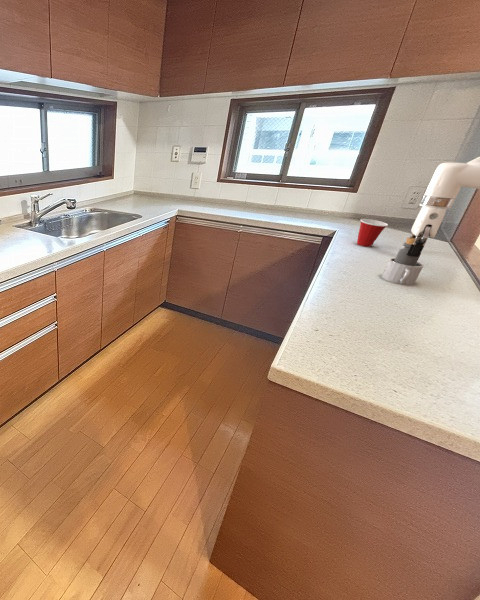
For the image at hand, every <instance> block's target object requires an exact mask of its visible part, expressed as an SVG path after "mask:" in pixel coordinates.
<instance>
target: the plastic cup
mask: <svg viewBox="0 0 480 600" xmlns="http://www.w3.org/2000/svg"><path fill="white" fill-rule="evenodd" d="M388 226H389V224H388V223H386V222H384V221H380V220H376V219H369V218H360V225H359V229H358V235H357V239H356V244H357V245H358V246H361V247H365V248H367V247H368V248H370V247H372V246H373V245H374V243H375V242H376V240H377V239H378V238H379V236H380V235H381V233H382V232H383V231H384V229H385V228H387V227H388Z"/></svg>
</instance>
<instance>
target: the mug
mask: <svg viewBox="0 0 480 600" xmlns="http://www.w3.org/2000/svg"><path fill="white" fill-rule="evenodd" d="M395 258H396V257H392V258H389V259H388V262H387V263H386V266H385V268H384V270H383V273H382V274H381V278H382V280H383V279H384V280H385V281H388V282H390V283H394V284H397V285H398V284H400V285H405V286H406V285H407V286H411V285H412V286H413V285H414V284H415V283H416V281H417V279H418V278H419V275H420V274H421V271H422V270H423V268H424V264H423V263H421V262H418V261H417V263H416V265H415V266H408V265H403V264H399V263H396V262H394V260H395Z"/></svg>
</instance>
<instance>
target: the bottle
mask: <svg viewBox="0 0 480 600" xmlns="http://www.w3.org/2000/svg"><path fill="white" fill-rule="evenodd" d="M414 240H415V238H410V237H406V241H405V242H404V243H403V244H402V246H403V248H400V249H399V250H398V252H397V254H396V256H395V257H394V258H395V260H394V262H396V263H399V264H403V265H408V266H415V265H416V263H417V262H418V261H419V259H420V257H421V255H422V252H421V253H420V255H419V257H414V256H408V255H407V252H408V250H409V248H410V246H411V244H413V243H414ZM417 241H418V240H417Z"/></svg>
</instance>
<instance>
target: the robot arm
mask: <svg viewBox="0 0 480 600" xmlns="http://www.w3.org/2000/svg"><path fill="white" fill-rule="evenodd" d="M461 188H470V189H474V190H480V156H479V157H476V158H474V159H472V160H470V161H467V162H451V161H450V162H447V161H446V162H441V163H439V165H438V166H437V167H436V169H435V171H434V173H433V175H432V177H431V179H430V182H429V184H428V186H427V188H426V189H425V192H424V194H423V196H422V198H421V200H420V202H419V204H418V206H420V207H421V208H420V210H419V212H418V214H417V216H416V218H415V220H414V222H413V224H412V226H411V229H410V232H411V235H410V236H409V238H415V240H414V243H413V244H411V246H410V248H409V250H408V252H407V255H408V256H414V257H419V255H420V253H421V254H422V252H423V250H424V248H425V245H426V243H427V241H428V239H434V238H435V237H436V235H437V233H438V231H439V229H440V226H441V224H442V222H443V220H444V217H445V216H446V212H447V210H448V209H451V207H452V206H453V204H454V202H455V200H456V198H457V196H458V194H459V192H460V191H461ZM417 240H418V241H417ZM420 256H421V255H420ZM419 258H420V257H419Z"/></svg>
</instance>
